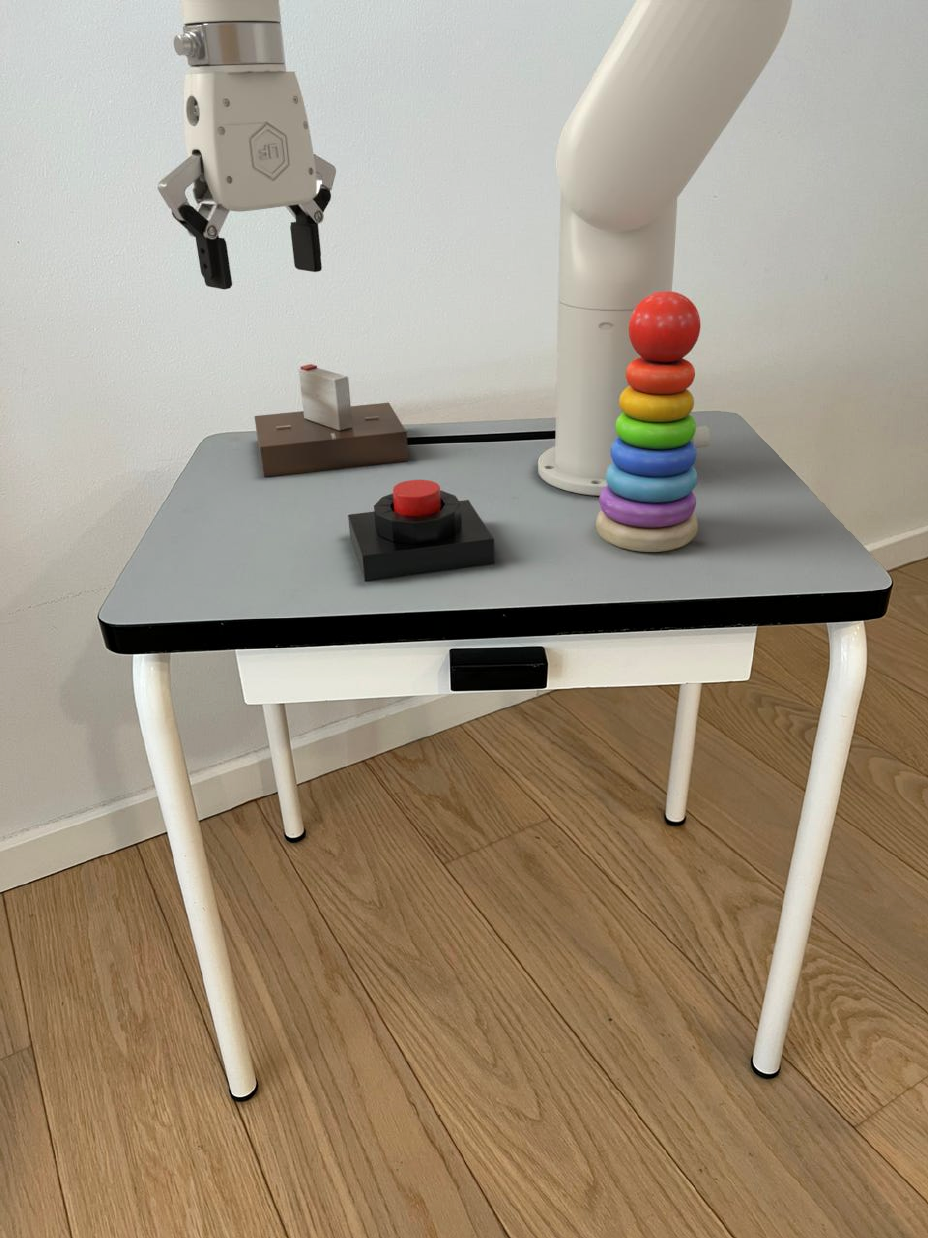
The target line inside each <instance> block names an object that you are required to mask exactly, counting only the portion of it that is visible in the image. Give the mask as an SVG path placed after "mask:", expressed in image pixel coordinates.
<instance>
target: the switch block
mask: <svg viewBox="0 0 928 1238" xmlns="http://www.w3.org/2000/svg"><path fill="white" fill-rule="evenodd" d="M440 498H441V509H440V511H437V512H435V513H432V514H429V515H421V516H409V515H401V514H398V513H396V512H395V511H394V500H393V492H392V493H390V494H386V495H385V496H382V497H381V498H380V499H379V500H378V501H376V503H375V504H374V505H373V511H367V512H366V511H365V512H361V513H360V512H359V513H358V512H357V513H350V514H348V515H347V518H348V519H347V520H348V529H349V538H350V542H351V545H352V548H353V551H354V554H355V557H356V561H357V563H358V566H359V569H360V571H361V575H362V578H363V580H364V583H367V582H374V581H381V580H388V579H394V578H395V579H397V578H403V577H404V578H405V577H411V576H418V575H425V574H433V573H439V572H440V573H441V572H448V571H454V570H461V569H462V570H463V569H469V568H477V567H482V566H483V567H485V566H490V565H495V538H494V537H493V535H492V533H491V532H490V531H489V529H488V527H487V526H486V524H485V523H484V521H483V520H482V518H481V517H480V515H479V514H478V513H477V510H476V509H475V508H474V506H473V505H472V503H471V502H470V500H469V499H464V500H459V499H458V497H457V496H456V495H455V494H452V493H450V492H446V491H444V490H441V489H440Z"/></svg>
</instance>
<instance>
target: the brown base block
mask: <svg viewBox="0 0 928 1238" xmlns="http://www.w3.org/2000/svg"><path fill="white" fill-rule="evenodd" d="M351 415H352V425H353V427H351V428H348V429H344V430H341V431H339V430H336V429H333V428H331V427H328V426H325V425H322V424H319V423H316V422H313V421H311V420H308V419H305V418H304V412H303V410H300V411H291V412H281V413H280V412H279V413H271V414H261V415H254V423H255V430H256V439H257V444H258V450H259V456H260V463H261V468H262V474H263V477H264V478H267V477H275V476H285V475H286V476H287V475H292V474H303V473H304V474H305V473H312V472H320V471H329V470H338V469H346V468H348V469H349V468H357V467H364V466H365V467H366V466H374V465H382V464H383V465H384V464H392V463H401V462H409V447H408V446H409V445H408V433H407V430H406V428H405V427H404V424H402V422H401V420H400V419H399V417H398V415H397V413H396V412H395V410H394V408H393V407H392V405H391V404H390V402H380V403H371V404H361V405H351Z"/></svg>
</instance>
